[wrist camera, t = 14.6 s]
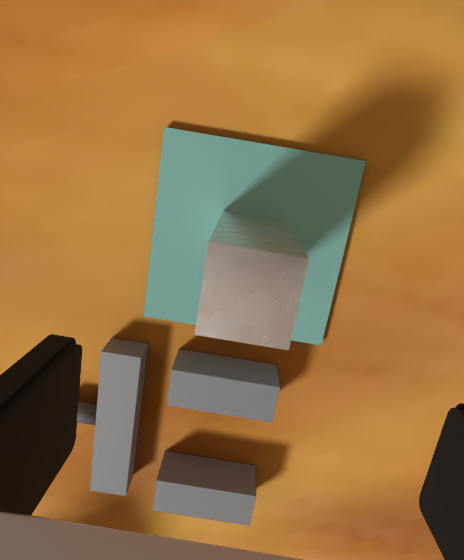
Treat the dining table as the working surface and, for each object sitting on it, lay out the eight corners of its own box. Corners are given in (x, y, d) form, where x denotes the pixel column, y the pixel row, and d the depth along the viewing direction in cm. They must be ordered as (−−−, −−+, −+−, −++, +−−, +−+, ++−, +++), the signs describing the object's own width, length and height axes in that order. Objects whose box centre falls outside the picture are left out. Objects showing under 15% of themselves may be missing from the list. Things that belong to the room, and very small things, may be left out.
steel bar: (285, 220, 30) (309, 258, 18) (273, 279, 31) (288, 350, 20) (223, 210, 30) (208, 241, 18) (214, 269, 31) (194, 334, 20)
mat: (363, 161, 29) (366, 160, 29) (320, 342, 33) (321, 345, 32) (165, 127, 29) (164, 126, 28) (145, 313, 33) (143, 316, 32)
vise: (276, 364, 34) (280, 387, 30) (249, 492, 37) (249, 525, 34) (74, 331, 34) (55, 351, 30) (67, 463, 37) (49, 493, 34)
